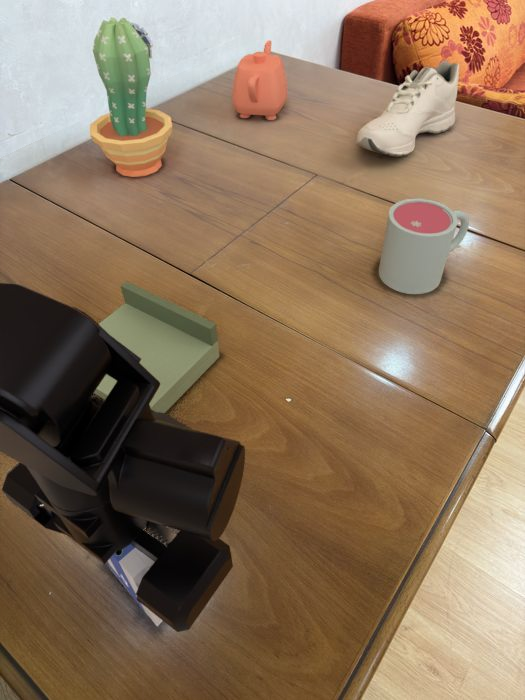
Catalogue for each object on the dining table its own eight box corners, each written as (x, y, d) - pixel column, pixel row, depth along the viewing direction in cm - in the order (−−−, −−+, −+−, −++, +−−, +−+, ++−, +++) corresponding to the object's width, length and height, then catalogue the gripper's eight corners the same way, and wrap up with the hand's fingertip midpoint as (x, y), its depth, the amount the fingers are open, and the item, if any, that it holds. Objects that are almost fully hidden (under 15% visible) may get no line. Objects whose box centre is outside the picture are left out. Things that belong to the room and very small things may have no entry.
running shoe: (337, 159, 105) (343, 89, 96) (414, 108, 121) (426, 44, 111) (386, 177, 100) (398, 106, 90) (460, 122, 115) (477, 56, 106)
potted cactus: (189, 173, 102) (171, 26, 84) (110, 193, 98) (73, 42, 80) (163, 140, 112) (142, 2, 94) (90, 157, 107) (52, 15, 89)
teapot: (279, 131, 114) (279, 71, 105) (225, 127, 116) (221, 67, 107) (293, 93, 127) (295, 37, 119) (245, 90, 129) (242, 35, 120)
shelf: (147, 431, 62) (137, 399, 57) (58, 377, 68) (43, 344, 63) (219, 356, 70) (216, 323, 65) (135, 313, 76) (126, 280, 71)
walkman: (107, 566, 51) (74, 509, 42) (131, 546, 52) (103, 486, 44) (158, 629, 47) (133, 580, 39) (182, 606, 49) (163, 553, 40)
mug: (402, 301, 76) (415, 243, 69) (366, 265, 82) (375, 208, 75) (478, 274, 80) (498, 216, 73) (439, 241, 86) (454, 185, 79)
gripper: (273, 449, 36) (275, 546, 47) (80, 342, 43) (122, 448, 55) (163, 593, 30) (196, 665, 41) (-39, 440, 37) (36, 536, 49)
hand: (135, 564), depth 47 cm, fingers closed on walkman, 8 cm apart
